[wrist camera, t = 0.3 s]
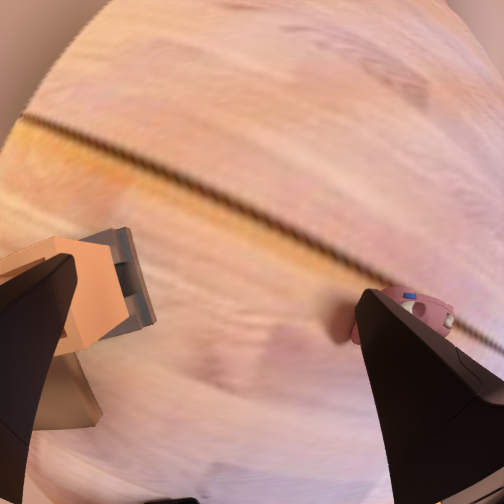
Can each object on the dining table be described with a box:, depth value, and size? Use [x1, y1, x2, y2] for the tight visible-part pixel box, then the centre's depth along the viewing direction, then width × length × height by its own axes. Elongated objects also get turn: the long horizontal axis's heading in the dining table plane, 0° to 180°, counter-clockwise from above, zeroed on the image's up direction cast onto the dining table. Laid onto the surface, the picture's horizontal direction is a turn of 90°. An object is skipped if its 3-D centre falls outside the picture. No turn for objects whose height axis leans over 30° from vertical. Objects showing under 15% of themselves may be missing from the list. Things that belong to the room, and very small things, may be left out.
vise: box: [78, 227, 157, 341], centre depth 17 cm, size 8×7×8 cm
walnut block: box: [33, 352, 103, 430], centre depth 18 cm, size 10×9×2 cm
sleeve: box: [0, 237, 129, 357], centre depth 14 cm, size 5×5×8 cm
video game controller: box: [351, 286, 454, 345], centre depth 23 cm, size 10×5×7 cm, turn 72°
